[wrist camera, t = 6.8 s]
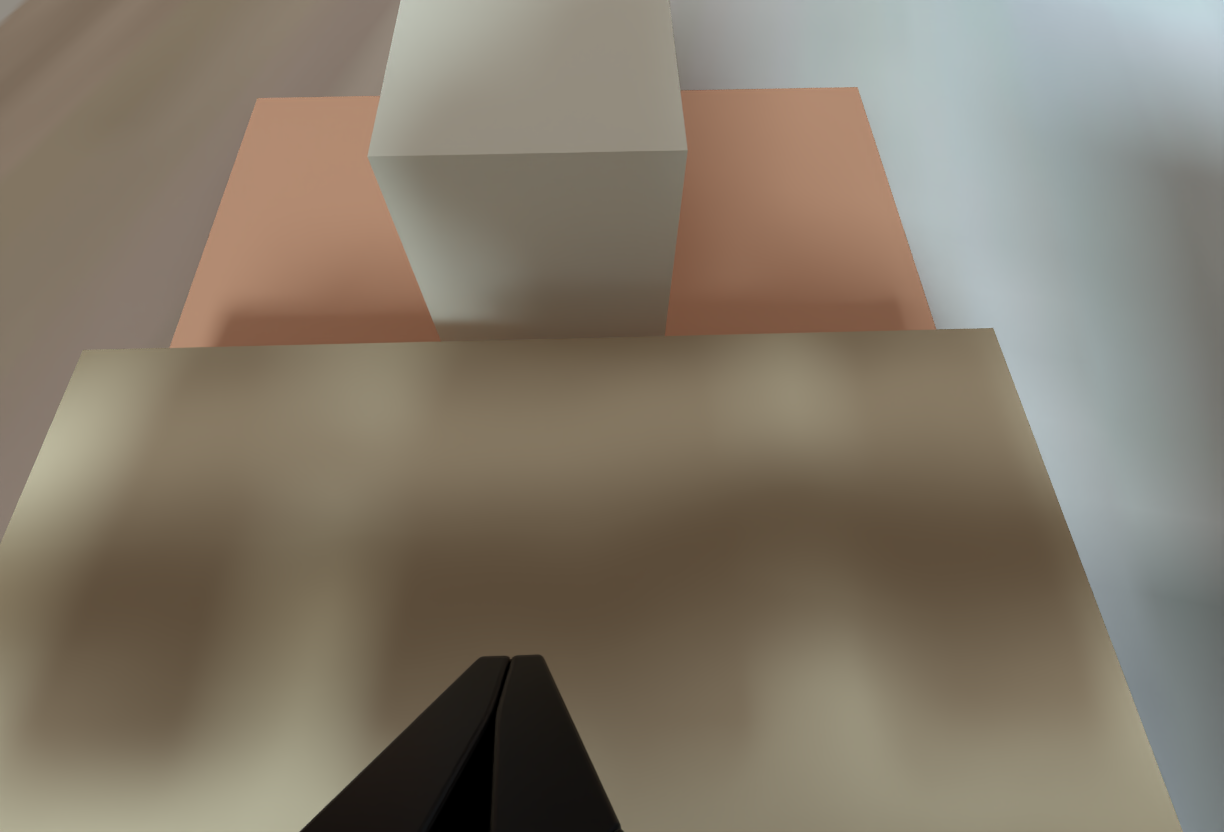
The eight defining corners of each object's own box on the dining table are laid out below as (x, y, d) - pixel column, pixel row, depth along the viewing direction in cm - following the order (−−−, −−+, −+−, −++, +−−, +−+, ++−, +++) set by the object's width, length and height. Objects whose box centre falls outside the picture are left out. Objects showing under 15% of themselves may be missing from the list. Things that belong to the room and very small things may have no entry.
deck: (1060, 906, 13) (1230, 958, 9) (28, 945, 12) (-202, 1014, 9) (917, 414, 18) (992, 327, 14) (188, 432, 18) (82, 350, 14)
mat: (949, 397, 18) (955, 390, 18) (156, 417, 18) (147, 410, 18) (853, 97, 24) (857, 87, 24) (262, 107, 24) (257, 98, 24)
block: (687, 150, 12) (660, -73, 16) (367, 157, 12) (415, -69, 16) (661, 356, 18) (646, 160, 22) (449, 361, 18) (470, 163, 22)
